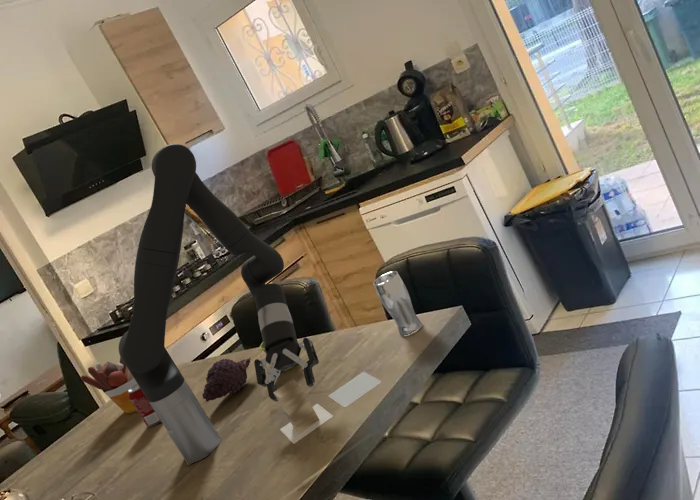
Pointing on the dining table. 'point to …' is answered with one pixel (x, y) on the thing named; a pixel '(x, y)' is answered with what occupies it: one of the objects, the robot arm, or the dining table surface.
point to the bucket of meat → (113, 383)
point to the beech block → (296, 406)
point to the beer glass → (397, 302)
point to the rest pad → (354, 389)
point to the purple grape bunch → (225, 378)
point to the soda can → (143, 406)
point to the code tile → (296, 436)
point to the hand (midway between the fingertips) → (293, 393)
